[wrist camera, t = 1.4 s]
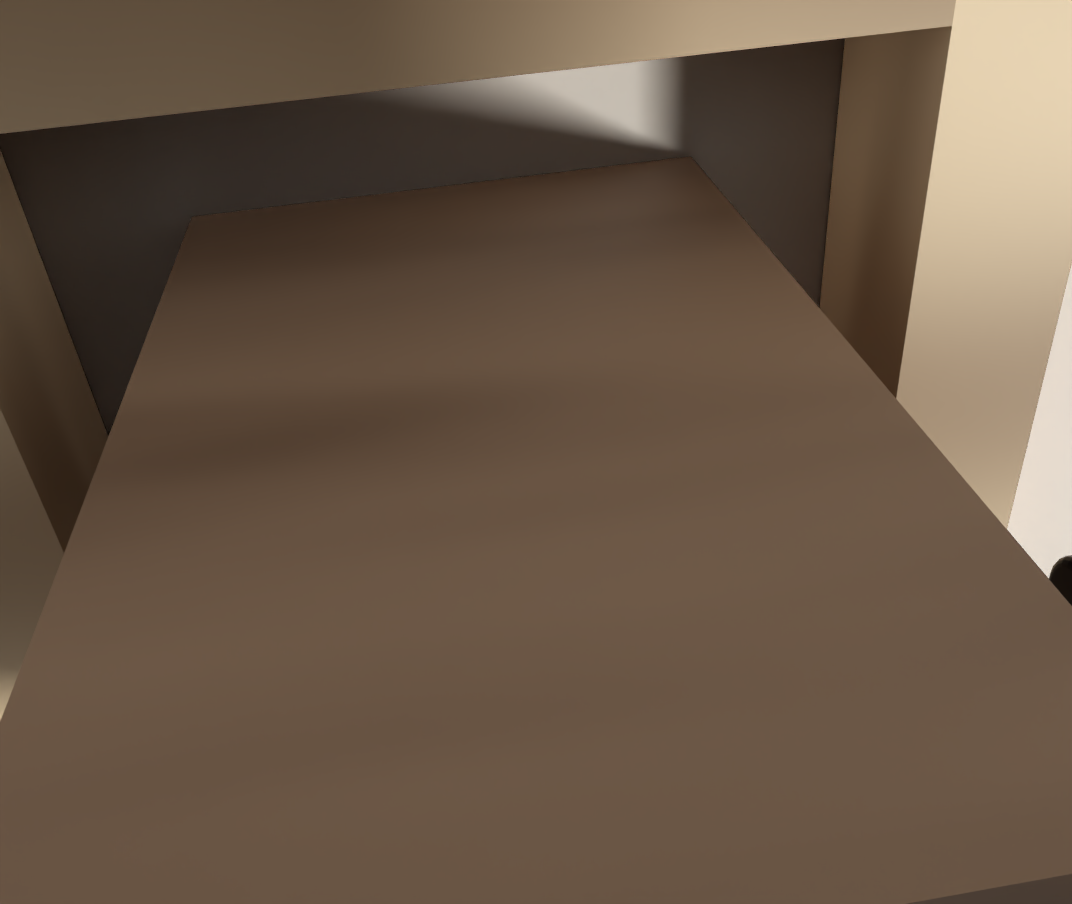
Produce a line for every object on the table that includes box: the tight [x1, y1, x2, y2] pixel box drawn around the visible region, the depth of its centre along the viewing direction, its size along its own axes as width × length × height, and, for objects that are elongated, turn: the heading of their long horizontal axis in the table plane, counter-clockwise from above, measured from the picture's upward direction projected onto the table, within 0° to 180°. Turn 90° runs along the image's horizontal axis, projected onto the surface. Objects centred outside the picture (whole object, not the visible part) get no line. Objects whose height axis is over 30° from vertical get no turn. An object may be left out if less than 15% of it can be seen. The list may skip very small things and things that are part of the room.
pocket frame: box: [0, 0, 1072, 721], centre depth 11 cm, size 11×11×2 cm
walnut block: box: [0, 156, 1072, 904], centre depth 8 cm, size 5×5×8 cm
